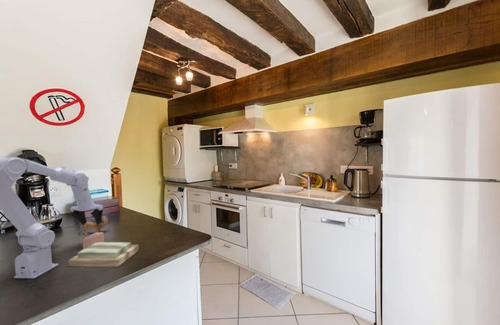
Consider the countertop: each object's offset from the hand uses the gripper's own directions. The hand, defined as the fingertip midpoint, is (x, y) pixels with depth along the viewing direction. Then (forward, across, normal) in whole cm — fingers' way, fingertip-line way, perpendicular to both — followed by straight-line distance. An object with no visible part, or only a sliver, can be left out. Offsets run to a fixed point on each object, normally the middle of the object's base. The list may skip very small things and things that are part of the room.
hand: (92, 223), depth 104 cm
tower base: (+8, -15, +15) cm, 23 cm away
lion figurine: (+14, +12, -12) cm, 22 cm away
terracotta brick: (+10, 0, +3) cm, 11 cm away
